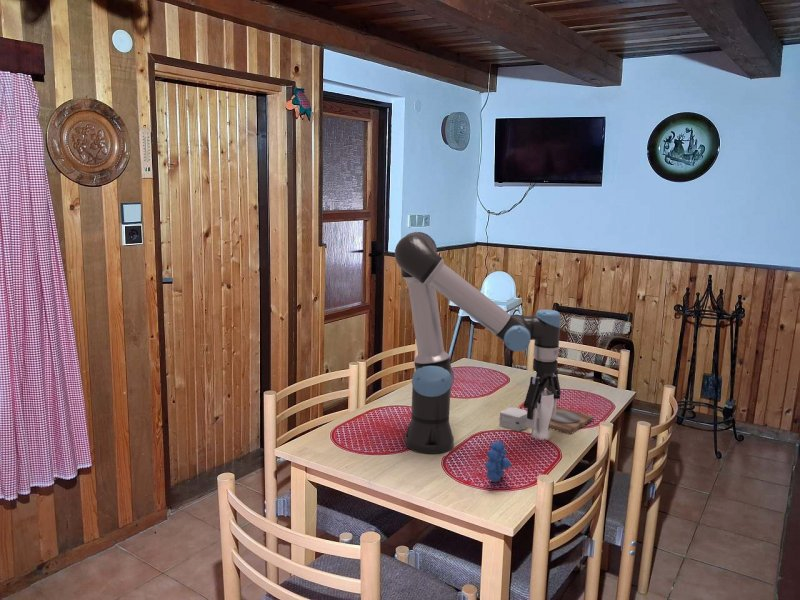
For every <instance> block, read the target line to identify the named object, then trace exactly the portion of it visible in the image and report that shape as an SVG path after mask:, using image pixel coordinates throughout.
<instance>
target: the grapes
mask: <svg viewBox="0 0 800 600" xmlns="http://www.w3.org/2000/svg"><path fill="white" fill-rule="evenodd" d="M489 447H490V450H488V451H487V452H486V456H487V461H486V463H484V465H485V467H486V470H487V471H486V472H485V475H486V477H487V478H488V479H489V480H490V481H491V482H492V483H498V482H499V481H500V480H501V477H502V476H504V474H505V472H504V470H508V469H509V468H510V467H511V466H512V463H511V461H510V459H509V458H507V457H506V455H508V452H507V450H506V449H505V448H506V446H505V444H504V443H503V441H501V440H496V441H493V442H492V443H491V444H490V445H489Z"/></svg>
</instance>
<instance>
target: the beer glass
mask: <svg viewBox="0 0 800 600" xmlns="http://www.w3.org/2000/svg"><path fill="white" fill-rule="evenodd" d="M553 407H554V393H553V392H552V391H549V390H547V389H544V391H542V393H541V395H540V397H539V400H538V402H537V405H536V407H535V409H536V422H535V429H534V430H533V429H531V432H530V437H531V438H532V437H533V438H536V439H543V440H542V441H545V440H544V439H548V440H549V439H550V436H551V435H550V428H549V425H550V421H551V417H552V413H553ZM533 438H532V439H533ZM536 439H535V440H536Z"/></svg>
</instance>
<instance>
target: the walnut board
mask: <svg viewBox="0 0 800 600" xmlns="http://www.w3.org/2000/svg"><path fill="white" fill-rule="evenodd" d="M594 419H595V418H594V415H589V414H586V413H583V412H579V411H574V410H571V409H567V408H563V407H560V406H556V418H555V419H553V418H551V421H550V425H549V429H550V428H551V429H550V430H553V429H554V431H557V430H558V431H557V432H560V431H561V433H564V432H565V434H567V433H569V434H568V435H571V434H573V433H575V432H576V430H577V431H579V430H580V429H581V427H582V426H583V427H585V426H586V425H585V424H587V423H588V422H590V421H592V420H593V421H594ZM593 421H592V422H593ZM590 423H591V422H590ZM588 424H589V423H588ZM588 424H587V425H588ZM584 425H585V426H584ZM583 427H582V428H583ZM579 428H580V429H579ZM574 431H575V432H574ZM572 432H573V433H572Z"/></svg>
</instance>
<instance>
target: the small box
mask: <svg viewBox="0 0 800 600" xmlns="http://www.w3.org/2000/svg"><path fill="white" fill-rule="evenodd" d="M526 423H527V410H524V409H522V408H518V407H514V406H509V407H508V408H505V409H504V410H500V412H499V424H498V425H499V426H500V427H502V428H507V429H510V430H512V429H513V430H512V431H515V430H517V431H516V432H521V431H522V430H524V429H527V428H526Z"/></svg>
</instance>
